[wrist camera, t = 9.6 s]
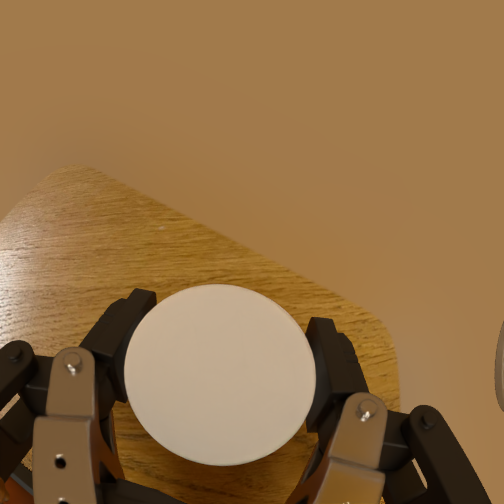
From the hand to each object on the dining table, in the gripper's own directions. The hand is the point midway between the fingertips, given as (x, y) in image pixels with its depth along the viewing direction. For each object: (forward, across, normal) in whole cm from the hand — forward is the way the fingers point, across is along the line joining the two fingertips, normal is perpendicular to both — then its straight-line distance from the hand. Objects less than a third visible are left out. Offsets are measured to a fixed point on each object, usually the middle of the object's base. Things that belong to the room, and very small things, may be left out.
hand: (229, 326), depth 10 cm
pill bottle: (+3, 0, +6) cm, 7 cm away
